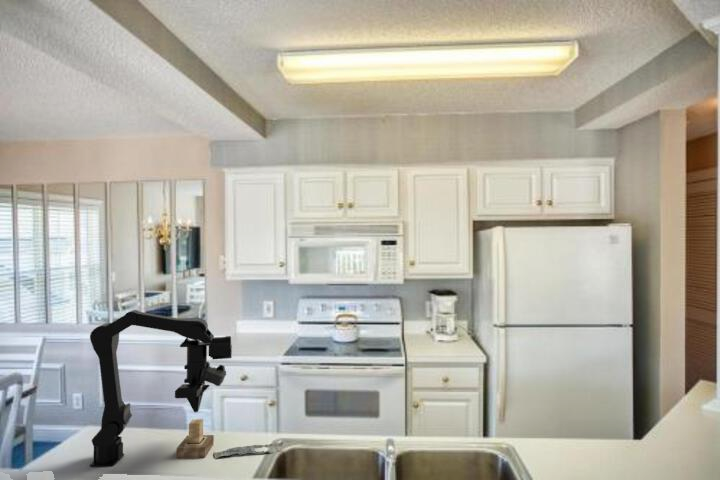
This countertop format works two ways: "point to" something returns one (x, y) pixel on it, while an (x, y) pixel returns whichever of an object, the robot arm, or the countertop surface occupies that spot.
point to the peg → (196, 431)
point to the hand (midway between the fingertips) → (196, 411)
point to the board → (195, 447)
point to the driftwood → (246, 450)
